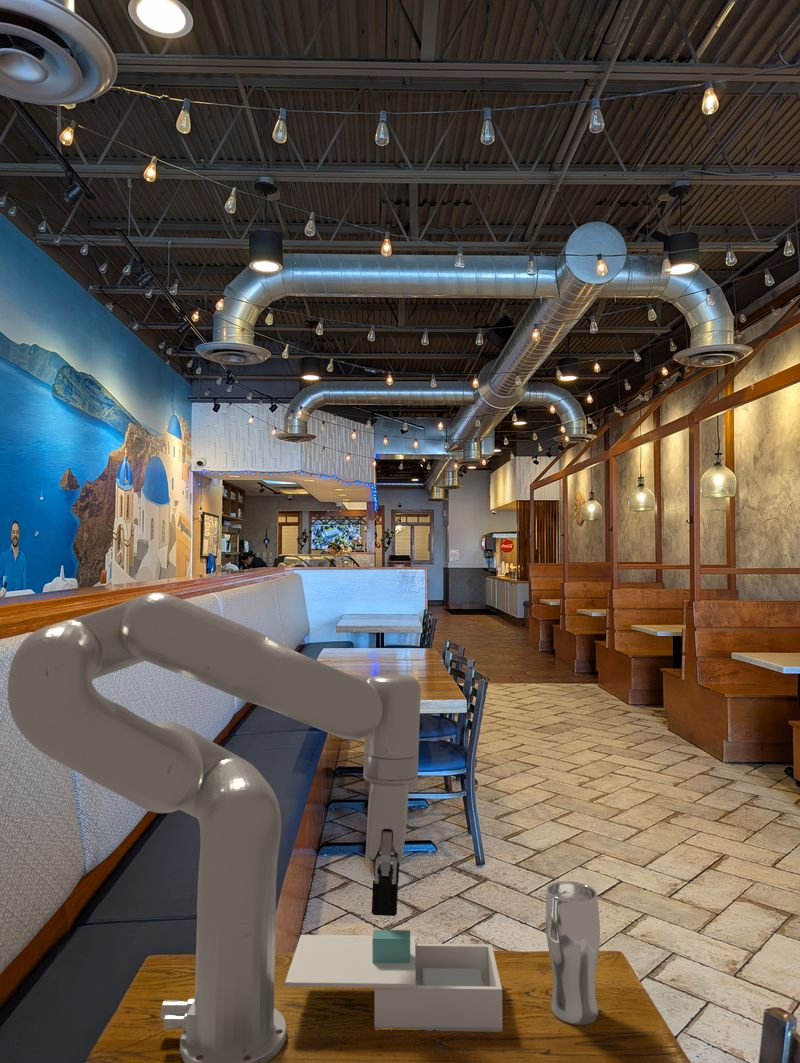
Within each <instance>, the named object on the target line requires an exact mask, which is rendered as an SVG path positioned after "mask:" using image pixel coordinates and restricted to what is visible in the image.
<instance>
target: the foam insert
mask: <svg viewBox="0 0 800 1063" xmlns="http://www.w3.org/2000/svg"><path fill="white" fill-rule="evenodd" d="M421 986H483V985H482V980H481V974H480V969H446V968H421Z"/></svg>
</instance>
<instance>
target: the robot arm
mask: <svg viewBox="0 0 800 1063" xmlns="http://www.w3.org/2000/svg"><path fill="white" fill-rule="evenodd" d="M22 641H23V642H21V644H20V645H19V647H18V648H17V650H16V652H15V654H14V656H13V658H12V661H11V664H10V668H9V672H8V673H9V674H8V679H7V702H8V709H9V711H10V714H11V717H12V719H13V722H14V724H15V726H16V728H17V730H18V731H19V732H20V733H21V735H22V736H23V738H25V739H26V741H27V742H29V743H30V744H31V746H33V748H35V749H36V750H38V751H39V752H41V753H42V754H44V755H45V756H46V757H49V758H51V759H52V760H53V761H56V762H57V763H60V764H61V765H63V766H65V767H68V768H69V769H71V770H73V771H74V772H76V773H79V774H80V775H82V776H84V777H85V778H87V779H88V780H90V781H92V782H94V783H96V784H97V785H100V786H101V787H104V788H105V789H107V790H109V791H111V792H113V793H115V794H117V795H118V796H120V797H122V798H125V799H126V800H128V801H129V802H131V803H132V804H134V805H136V806H138V807H140V808H141V809H143V810H146V811H148V812H152V813H156V814H169V813H174V812H177V811H182V812H183V813H185V814H188V815H190V816H191V817H194V818H195V819H197V820H198V824H199V833H200V835H199V836H200V849H199V850H200V851H199V861H198V863H199V864H198V878H197V896H196V898H197V900H196V901H197V902H196V914H197V915H196V916H197V918H196V944H195V945H196V947H195V948H196V949H195V955H196V956H195V983H194V984H195V985H194V997H189V998H188V1000H179V999H164V1000H163V1002H162V1005H161V1008H160V1019H163V1029H164V1030H175V1029H182V1032H181V1035H180V1039H179V1053H180V1057H181V1059H182V1061H183V1062H184V1063H267V1062H269V1061H270V1060H272V1059H273V1058H274V1057H275V1056H276V1055H277V1054H278V1053H279V1052H280V1050H281V1049H282V1048H283V1046H284V1045H285V1041H286V1039H287V1021H286V1019H285V1017H284V1015H283V1014H282V1012H281V1011H279V1010H278V1009H277V1008H275V981H276V980H275V979H276V978H275V977H276V976H275V975H276V973H275V972H276V971H275V970H276V929H277V926H276V923H277V922H276V921H277V919H276V918H277V917H276V916H277V913H276V912H277V874H278V872H277V871H278V858H279V857H278V856H279V849H280V842H281V834H282V815H281V814H282V813H281V808H280V803H279V801H278V797H277V796H276V793H275V792H274V790H273V788H272V787H271V785H270V784H269V783H268V781H267V780H266V778H265V777H263V775H262V774H261V773H260V771H259V770H258V769H257V768H256V767H255V766H254V765H253V764H252V763H251V762H249V761H247V760H246V759H244V758H242V757H240V756H238V755H237V754H235V753H233V752H232V751H231V750H230V751H229V750H228V749H227V748H224V747H223V746H221V745H219V744H217V743H215V742H213V741H212V740H210V739H208V738H206V737H205V736H203V735H202V734H199V733H198V732H196V731H194V730H192V729H190V728H188V727H187V726H184V725H183V724H179V723H177V722H173V721H164V720H163V721H155V722H151V721H148V720H147V719H145V718H143V717H141V716H140V715H137V714H136V713H134V712H133V711H131V710H130V709H128V708H126V707H125V706H123V705H120V704H119V703H116V702H114V701H112V700H110V699H108V698H107V697H105V696H104V695H102V694H100V692H98V690H97V689H96V687H95V685H94V684H93V680H95V679H98V678H101V677H104V676H106V675H109V674H112V673H116V672H118V671H121V670H123V669H126V668H129V667H132V666H134V665H137V664H141V663H144V662H145V661H146V662H148V663H150V664H152V665H155V666H157V667H160V668H162V669H164V670H165V669H166V670H168V671H170V672H173V673H175V674H179V675H181V676H184V677H187V678H189V679H191V680H193V681H196V682H199V683H202V684H203V685H204V684H205V685H207V686H209V687H211V688H213V689H216V690H219V691H221V692H223V693H226V694H229V695H231V696H234V697H236V698H238V699H240V700H242V701H244V702H247V703H251V704H253V705H257V706H260V707H263V708H266V709H269V710H271V711H274V712H276V713H278V714H281V715H284V716H285V717H288V718H291V719H293V720H296V721H298V722H301V723H303V724H305V725H307V726H310V727H312V728H316V729H318V730H321V731H322V732H326V733H327V734H330V735H333V736H335V737H338V738H340V739H345V740H354V741H355V740H360V739H363V738H364V746H363V747H364V750H363V751H364V752H363V753H364V754H363V771H362V774H363V775H362V777H363V778H362V779H364V780H365V781H367V782H370V784H369V791H368V802H367V803H368V805H367V823H366V824H367V825H366V826H367V827H366V840H365V841H366V842H365V843H366V845H365V859H366V861H367V862H371V860H372V861H374V860H375V868H374V880H372V895H371V914H372V915H373V916H385V917H395V916H396V915H397V914H398V893H399V892H398V890H399V889H398V888H399V881H400V880H399V877H400V876H399V875H400V871H399V870H400V862H401V861H402V860H403V855H404V848H405V847H404V846H405V840H406V833H407V823H408V822H407V821H408V806H409V786H410V784H414V783H415V782H417V781H418V780H419V779H418V778H419V751H420V750H419V745H420V723H421V721H420V720H421V716H420V715H421V697H422V696H421V694H422V692H421V690H422V688H421V684H420V682H419V680H418V679H417V678H415V677H412V676H408V675H403V674H402V675H401V674H381V675H380V674H379V675H378V674H377V675H375V676H368V675H367V676H365V675H358V674H352V673H351V674H350V673H346V672H344V671H342V670H339V669H337V668H335V667H333V666H330V665H327V664H325V663H323V662H322V661H321V662H320V661H318V660H316V659H314V658H311V657H309V656H307V655H305V654H302V653H301V652H298V651H296V650H294V649H292V648H290V647H288V646H286V645H285V644H283V643H280V642H279V641H278V640H276V639H273V638H272V637H270V636H269V635H265V634H263V633H261V632H259V631H257V630H255V629H252V628H250V627H247V626H245V625H243V624H240V623H238V622H235V621H233V620H231V619H228V618H226V617H224V616H221V615H219V614H217V613H215V612H212V611H210V610H208V609H205V608H203V607H200V606H198V605H196V604H194V603H191V602H189V601H186V600H184V599H182V598H180V597H177V596H175V595H172V594H169V593H166V592H165V593H164V592H158V591H157V592H149V593H146V594H142V595H141V596H139V597H135V598H132V599H130V600H126V601H125V602H122V603H119V604H116V605H113V606H109V607H106V608H102V609H100V610H96V611H94V612H90V613H87V614H83V615H80V616H76V617H72V618H70V619H67V620H66V619H65V620H63V621H60V622H57V623H53V624H49V625H47V626H44V627H42V628H40V629H37V630H35V631H34V632H32V633H31V634H29V635H28V636H27V637H26V638H25V639H24V640H22Z"/></svg>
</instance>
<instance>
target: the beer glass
mask: <svg viewBox="0 0 800 1063" xmlns="http://www.w3.org/2000/svg"><path fill="white" fill-rule="evenodd" d="M545 900H546V901H545V933H546V941H547V946H548V953H549V958H550V963H551V970H552V978H553V979H552V981H553V983H552V994H551V1000H550V1010H551V1012H552V1014H553V1015H554V1016H555V1017H556V1018H557V1019H559V1020H560V1021H562V1022H564V1023H567V1024H570V1025H575V1026H586V1025H590V1024H592V1023H594V1022H595V1021H596V1020H598V1018H599V1007H598V1006H599V1005H598V1000H597V997H596V987H595V984H596V982H595V980H596V971H597V965H598V958H599V952H600V951H599V950H600V940H601V938H600V937H601V924H600V912H599V901H598V892H597V891H596V890H595V889H594V887H592V886H590V885H587V884H585V883H582V882H577V881H570V880H562V881H555V882H553V883H551V884H549V885H547V888H546V898H545Z"/></svg>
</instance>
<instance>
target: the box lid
mask: <svg viewBox="0 0 800 1063" xmlns="http://www.w3.org/2000/svg"><path fill="white" fill-rule="evenodd" d="M372 933H373V934H372V935H371V934H370V935H368V934H367V935H365V934H364V935H363V934H362V935H361V934H360V935H359V934H355V935H353V934H352V935H350V934H345V935H344V934H343V935H342V934H300V935H299V939H298V942H297V945H296V948H295V951H294V954H293V957H292V960H291V963H290V966H289V969H288V972H287V975H286V978H285V982H284V987H285V988H287V987H291V988H293V987H295V988H361V989H363V988H365V989H366V988H367V989H369V988H374V989H375V988H416V968H415V944H416V935H411V930H410V929H409V930H408V929H407V930H406V929H405V930H404V929H373V930H372Z"/></svg>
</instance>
